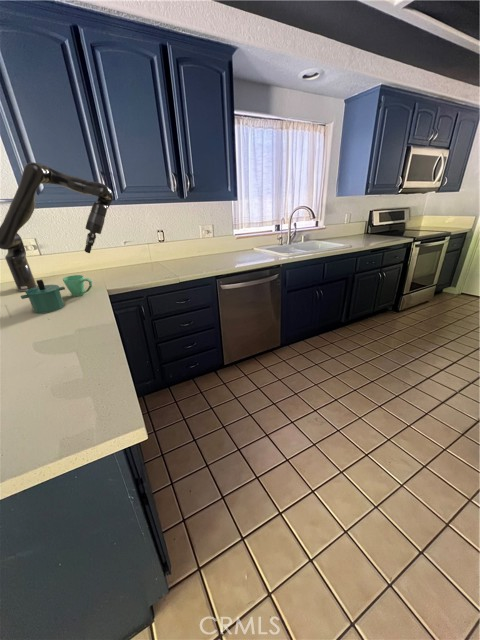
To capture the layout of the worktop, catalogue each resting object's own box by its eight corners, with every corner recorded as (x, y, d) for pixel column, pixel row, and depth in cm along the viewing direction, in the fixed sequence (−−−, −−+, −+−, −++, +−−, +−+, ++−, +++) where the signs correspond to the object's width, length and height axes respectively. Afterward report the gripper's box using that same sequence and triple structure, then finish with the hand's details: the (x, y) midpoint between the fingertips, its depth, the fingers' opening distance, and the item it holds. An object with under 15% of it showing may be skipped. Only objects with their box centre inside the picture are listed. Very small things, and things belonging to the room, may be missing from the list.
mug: (64, 297, 145) (58, 280, 141) (74, 291, 154) (69, 275, 149) (90, 297, 144) (85, 280, 140) (99, 291, 153) (95, 275, 149)
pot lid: (23, 291, 128) (19, 280, 126) (55, 284, 137) (51, 274, 135) (29, 298, 120) (25, 286, 118) (63, 290, 129) (59, 279, 126)
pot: (24, 310, 131) (17, 291, 126) (65, 299, 142) (60, 283, 138) (30, 317, 123) (23, 298, 119) (73, 306, 134) (67, 288, 130)
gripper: (86, 220, 145) (78, 248, 146) (88, 219, 133) (79, 250, 135) (101, 226, 149) (93, 253, 151) (104, 225, 138) (95, 255, 139)
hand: (87, 252), depth 143 cm, fingers open, 8 cm apart
